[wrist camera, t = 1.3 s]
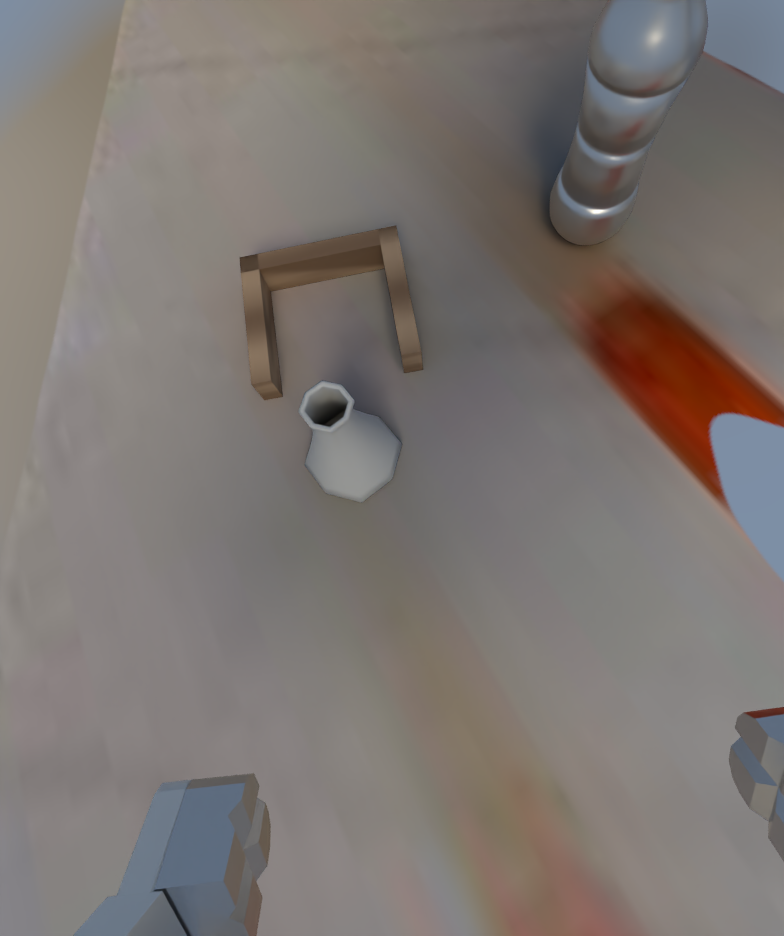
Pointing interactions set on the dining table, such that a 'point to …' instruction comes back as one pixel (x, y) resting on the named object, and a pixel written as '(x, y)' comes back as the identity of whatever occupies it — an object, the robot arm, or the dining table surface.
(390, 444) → the flask
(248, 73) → the dining table surface
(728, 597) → the dining table surface
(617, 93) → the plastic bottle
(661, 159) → the dining table surface
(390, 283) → the walnut bay
